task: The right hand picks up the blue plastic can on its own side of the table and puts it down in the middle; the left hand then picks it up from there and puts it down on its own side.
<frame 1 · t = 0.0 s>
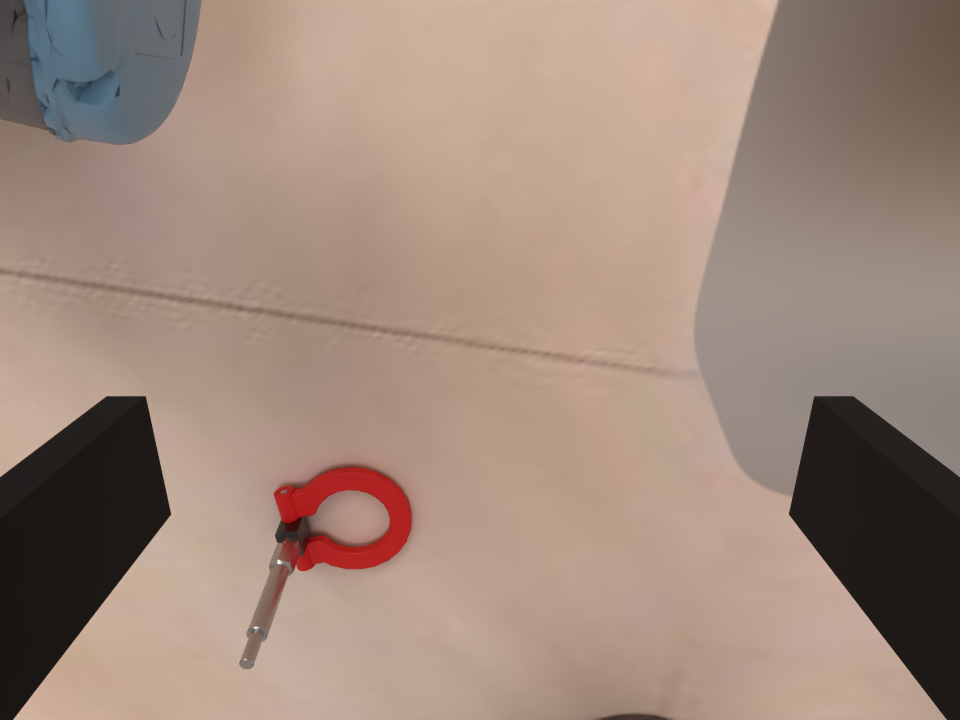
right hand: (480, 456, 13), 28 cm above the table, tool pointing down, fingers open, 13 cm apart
tow hook: (349, 513, 46), on the table
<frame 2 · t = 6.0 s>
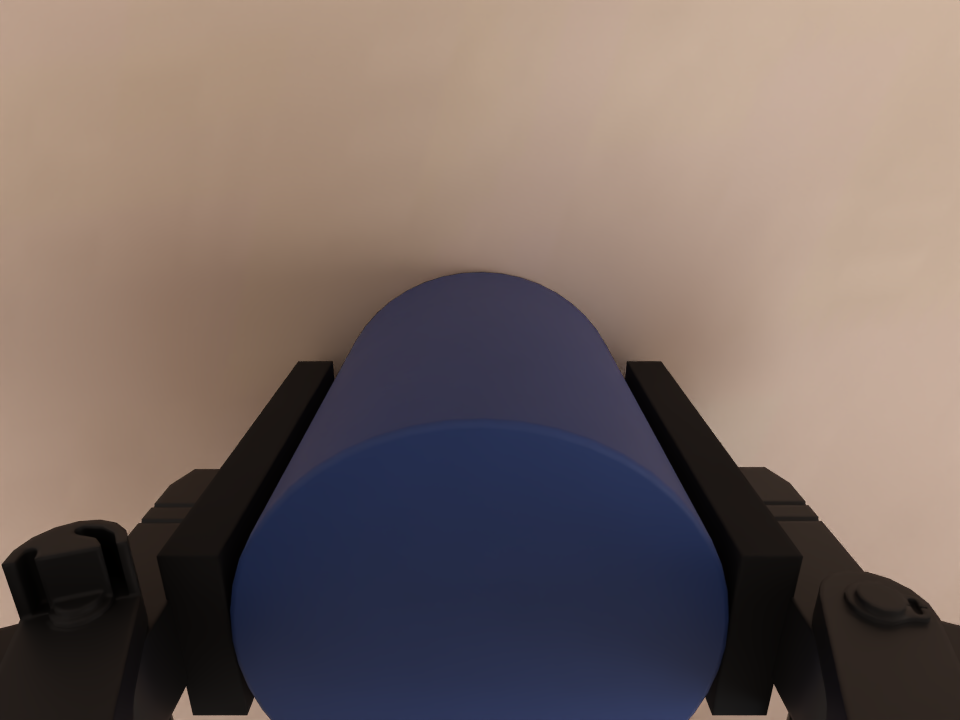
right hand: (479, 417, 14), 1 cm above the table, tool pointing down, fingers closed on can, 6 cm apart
can: (479, 406, 15), on the table, touching right hand
when the right hand's fingers open (2 cm above the table, at t = 10.4 s): can drops 1 cm, on the table.
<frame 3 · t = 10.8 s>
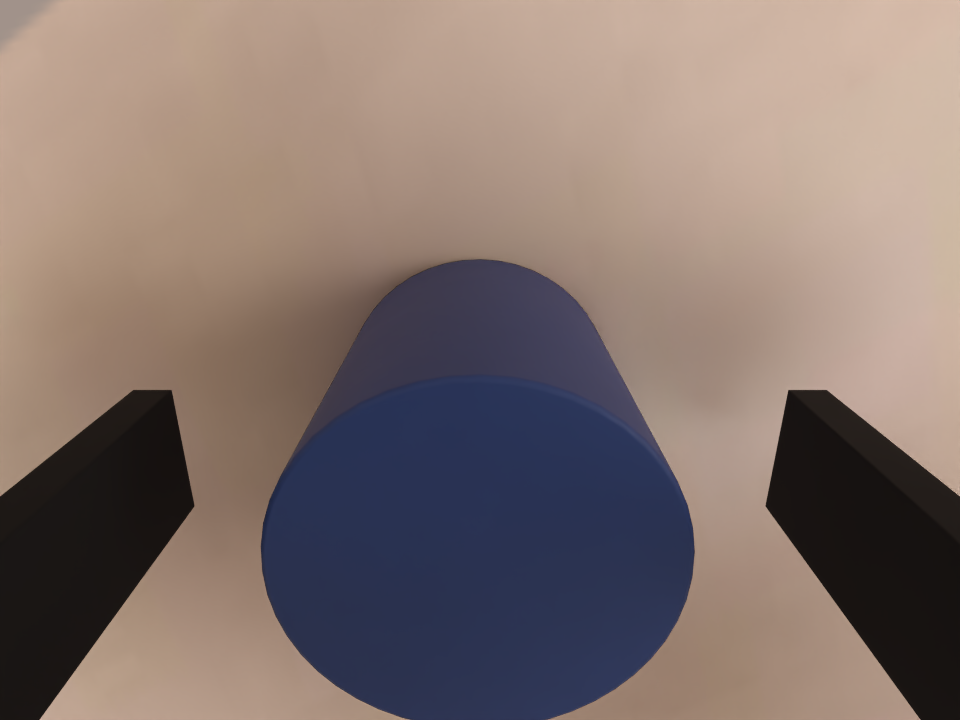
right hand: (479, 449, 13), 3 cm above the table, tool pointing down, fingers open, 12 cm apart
can: (478, 384, 16), on the table
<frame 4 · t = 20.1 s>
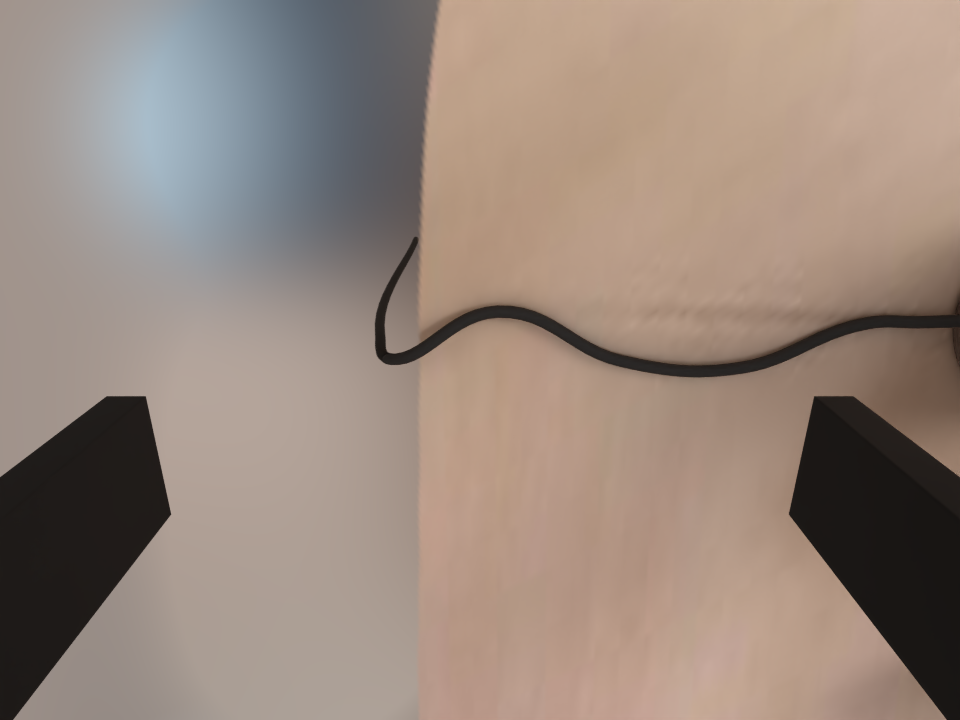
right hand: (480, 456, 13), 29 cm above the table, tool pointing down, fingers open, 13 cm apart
when the left hand's fingers open (2 cm above the table, at t = 25.1 s): can drops 1 cm, on the table.
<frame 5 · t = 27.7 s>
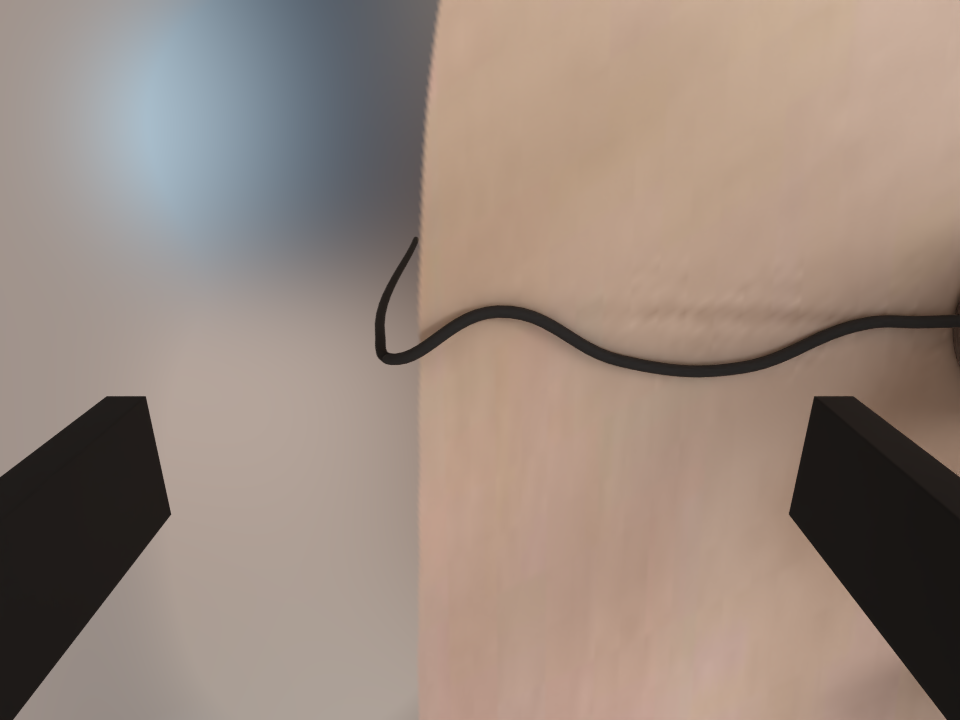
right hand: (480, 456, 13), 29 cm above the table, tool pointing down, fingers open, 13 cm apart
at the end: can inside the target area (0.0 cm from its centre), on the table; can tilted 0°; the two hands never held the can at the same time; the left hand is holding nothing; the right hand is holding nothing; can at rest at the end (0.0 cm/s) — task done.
